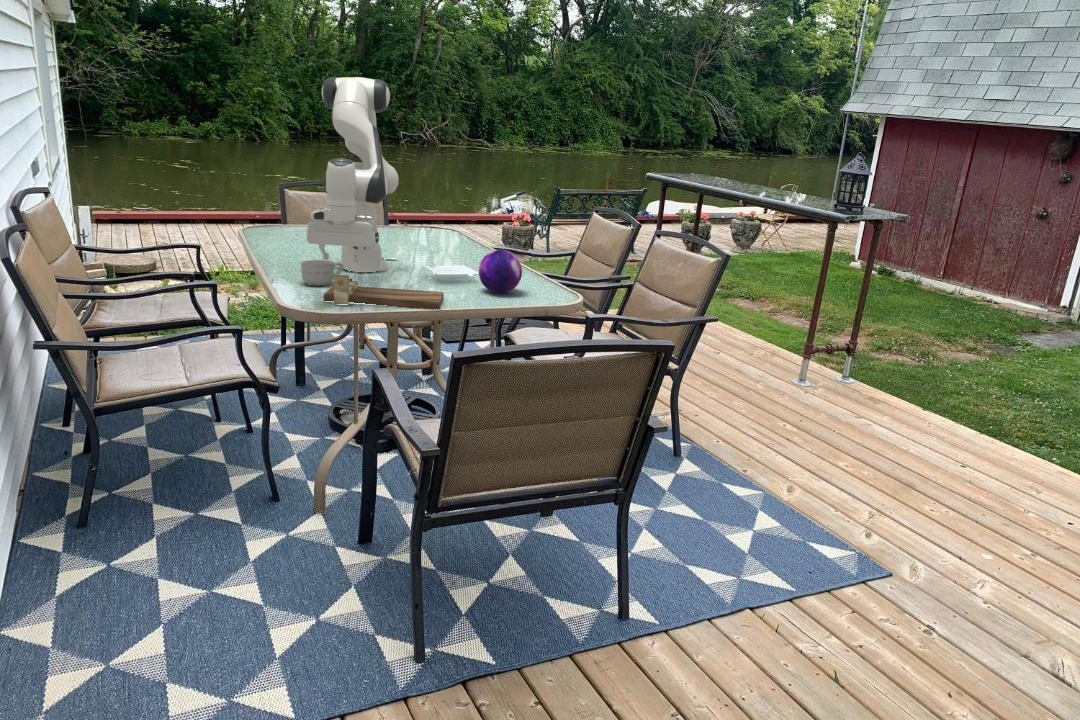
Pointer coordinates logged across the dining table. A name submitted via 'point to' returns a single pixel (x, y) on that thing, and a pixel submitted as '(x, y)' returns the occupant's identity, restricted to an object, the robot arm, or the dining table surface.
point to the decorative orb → (500, 271)
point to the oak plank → (393, 297)
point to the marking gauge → (343, 288)
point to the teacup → (319, 271)
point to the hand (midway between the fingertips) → (341, 260)
